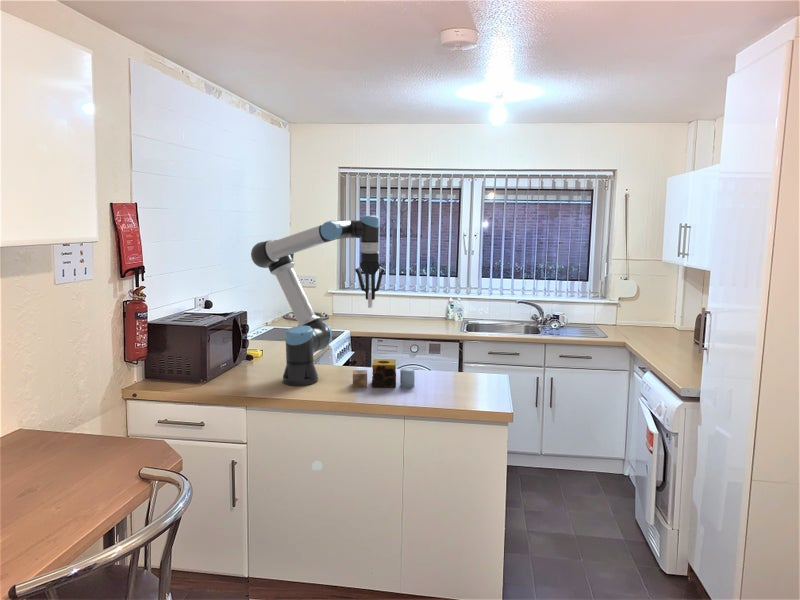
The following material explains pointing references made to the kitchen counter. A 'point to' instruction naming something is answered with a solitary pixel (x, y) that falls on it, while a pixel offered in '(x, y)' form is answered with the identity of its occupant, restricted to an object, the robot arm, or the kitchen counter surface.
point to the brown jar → (359, 378)
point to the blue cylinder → (407, 378)
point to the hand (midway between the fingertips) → (370, 307)
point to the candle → (384, 373)
